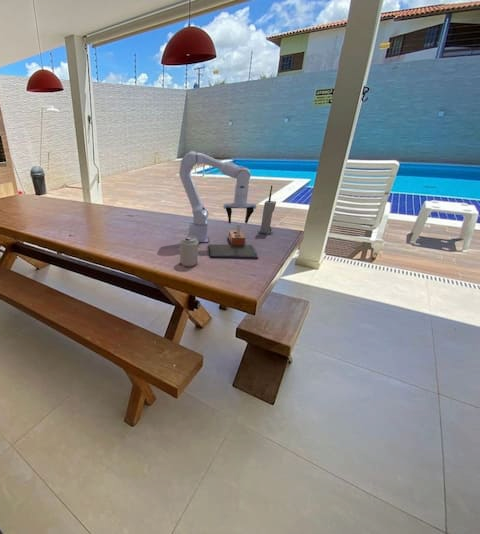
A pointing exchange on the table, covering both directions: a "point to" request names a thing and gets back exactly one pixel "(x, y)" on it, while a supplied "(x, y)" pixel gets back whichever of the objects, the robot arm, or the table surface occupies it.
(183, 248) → the can
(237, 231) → the stylus
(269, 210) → the vintage mobile phone
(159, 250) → the table surface
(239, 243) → the pen stand
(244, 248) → the tablet
